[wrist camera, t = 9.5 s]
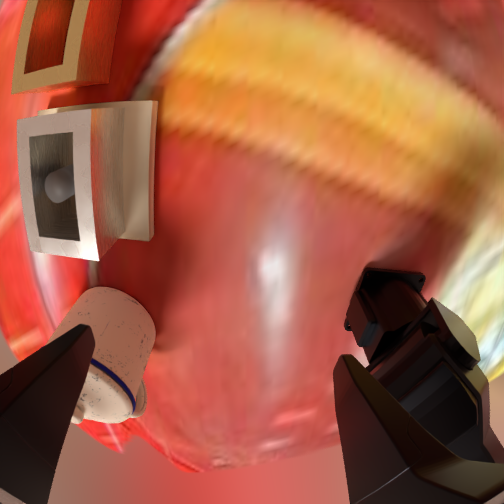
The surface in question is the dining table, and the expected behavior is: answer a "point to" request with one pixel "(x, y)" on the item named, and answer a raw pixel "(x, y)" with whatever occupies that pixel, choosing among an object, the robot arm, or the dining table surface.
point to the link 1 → (77, 45)
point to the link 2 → (85, 180)
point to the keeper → (134, 166)
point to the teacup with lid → (112, 354)
